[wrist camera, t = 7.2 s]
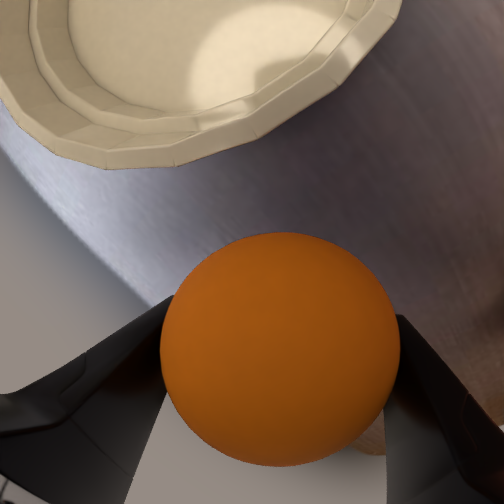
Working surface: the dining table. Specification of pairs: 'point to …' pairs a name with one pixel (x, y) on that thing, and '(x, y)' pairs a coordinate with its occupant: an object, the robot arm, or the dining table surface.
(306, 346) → the orange
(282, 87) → the bowl
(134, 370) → the robot arm
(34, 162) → the dining table surface
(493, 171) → the dining table surface
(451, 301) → the dining table surface
